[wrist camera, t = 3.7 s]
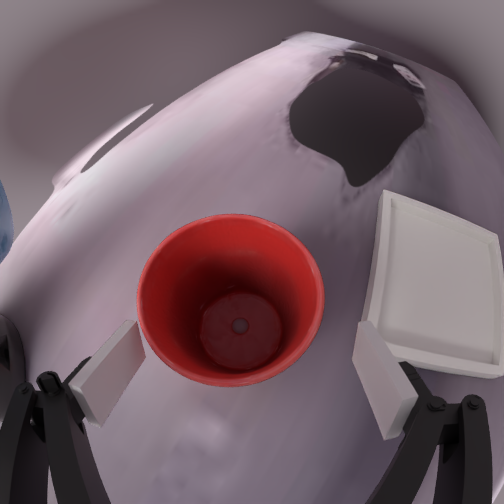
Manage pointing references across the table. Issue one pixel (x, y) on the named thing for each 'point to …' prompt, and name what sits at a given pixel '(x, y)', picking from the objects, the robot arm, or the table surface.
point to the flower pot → (230, 300)
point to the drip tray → (436, 289)
